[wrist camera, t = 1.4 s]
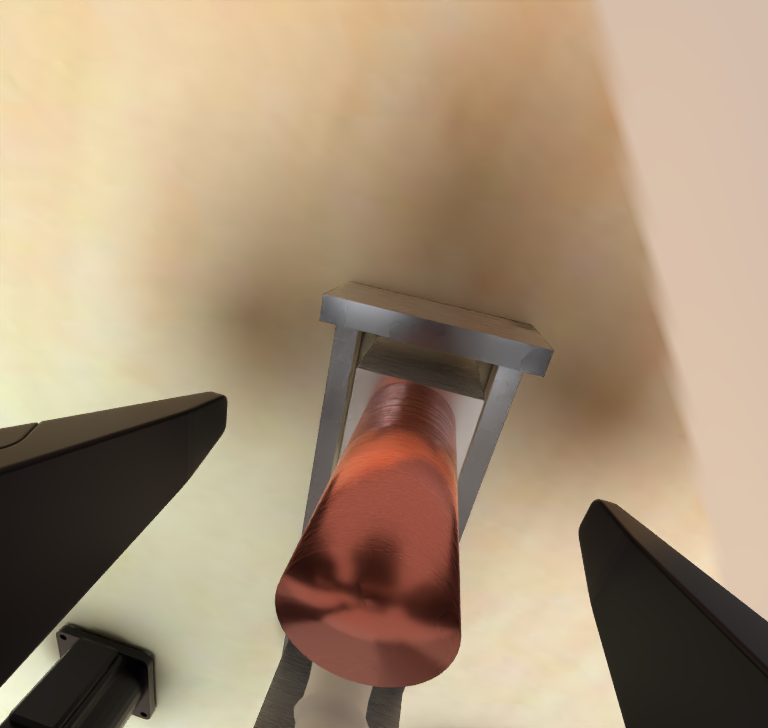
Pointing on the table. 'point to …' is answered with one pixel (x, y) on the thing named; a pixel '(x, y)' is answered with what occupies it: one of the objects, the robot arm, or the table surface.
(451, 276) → the table surface
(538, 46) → the table surface
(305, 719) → the rook chess piece
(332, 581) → the ram
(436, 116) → the table surface
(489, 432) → the press bed
